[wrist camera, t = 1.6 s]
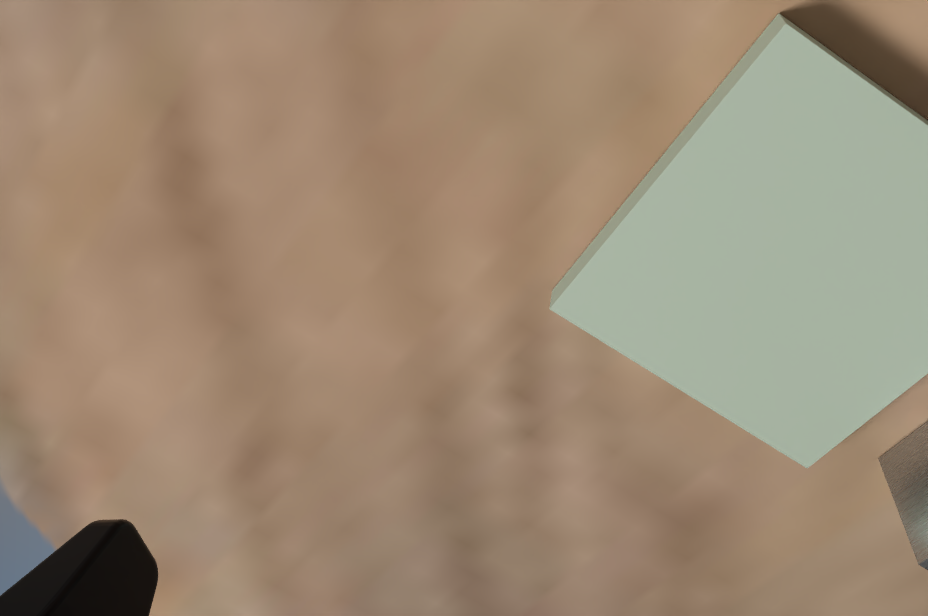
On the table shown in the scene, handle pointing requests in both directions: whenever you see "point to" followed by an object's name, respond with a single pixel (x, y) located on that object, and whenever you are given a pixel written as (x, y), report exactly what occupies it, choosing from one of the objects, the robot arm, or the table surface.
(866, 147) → the green mat
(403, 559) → the table surface
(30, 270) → the table surface
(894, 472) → the block
